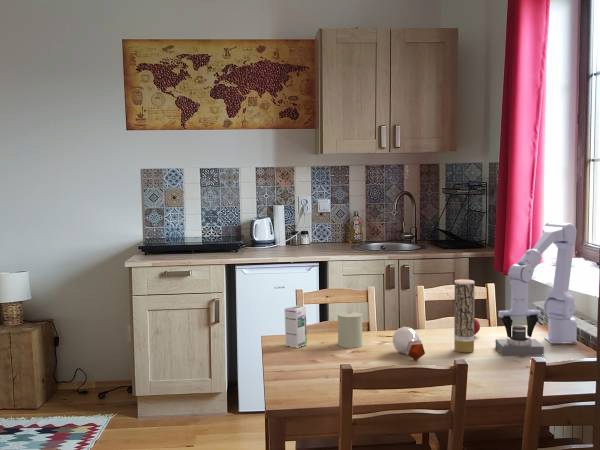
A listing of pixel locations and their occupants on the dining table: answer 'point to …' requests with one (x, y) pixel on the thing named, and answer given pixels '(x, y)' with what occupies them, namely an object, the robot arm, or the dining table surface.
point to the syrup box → (295, 326)
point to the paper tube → (464, 316)
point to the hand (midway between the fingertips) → (519, 336)
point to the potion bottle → (408, 343)
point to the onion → (476, 326)
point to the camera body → (519, 347)
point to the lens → (519, 333)
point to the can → (350, 329)
